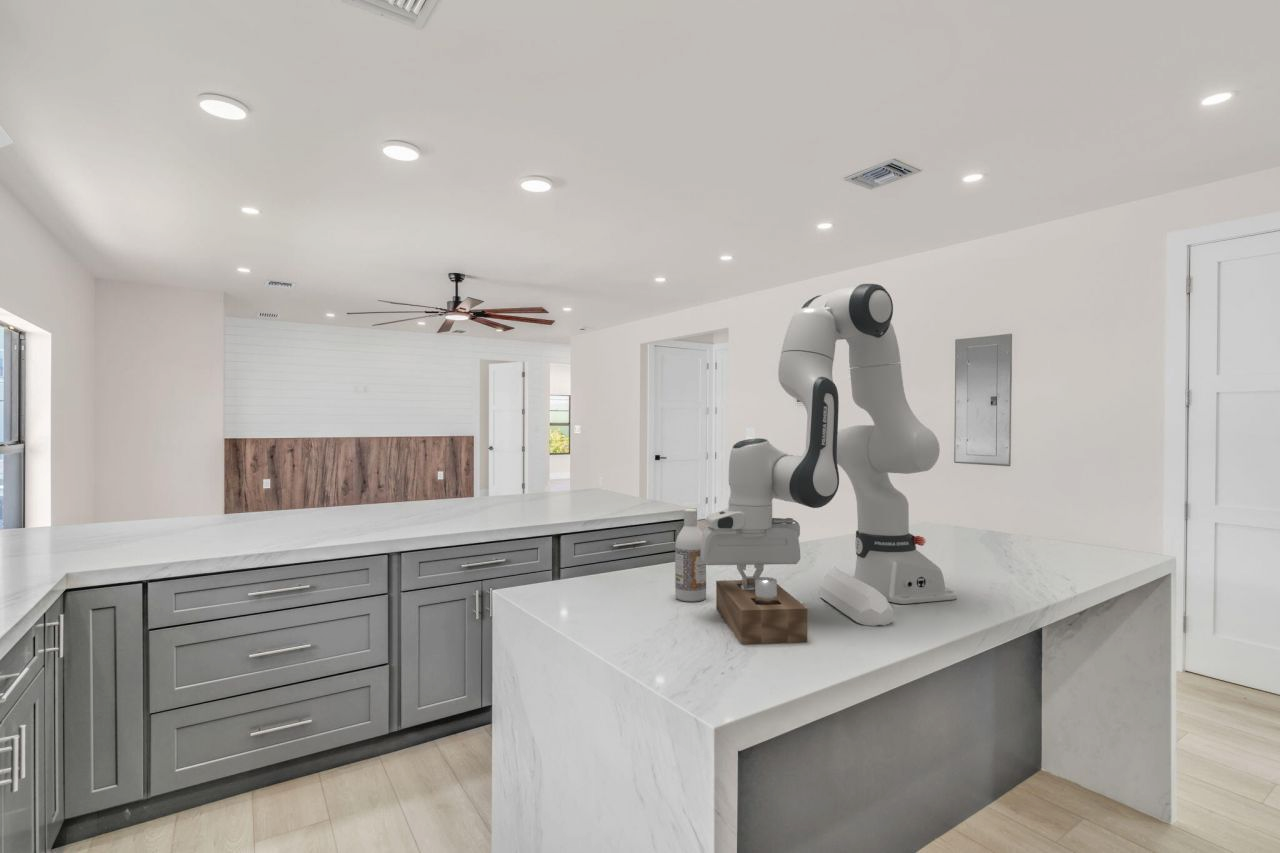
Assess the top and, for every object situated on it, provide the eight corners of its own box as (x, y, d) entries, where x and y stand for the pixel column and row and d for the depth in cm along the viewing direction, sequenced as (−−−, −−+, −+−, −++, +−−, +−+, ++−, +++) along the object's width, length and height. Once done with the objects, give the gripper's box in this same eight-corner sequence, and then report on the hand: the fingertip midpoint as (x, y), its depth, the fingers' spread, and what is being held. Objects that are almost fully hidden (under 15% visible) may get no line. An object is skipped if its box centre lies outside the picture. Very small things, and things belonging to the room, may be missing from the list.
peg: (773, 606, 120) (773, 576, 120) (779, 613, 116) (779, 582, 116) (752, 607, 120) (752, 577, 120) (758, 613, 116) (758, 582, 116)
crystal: (807, 579, 144) (852, 609, 121) (833, 563, 145) (883, 589, 121) (822, 607, 145) (871, 642, 121) (848, 590, 145) (902, 622, 121)
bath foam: (692, 604, 137) (691, 512, 138) (669, 598, 142) (668, 509, 143) (712, 598, 142) (712, 509, 142) (689, 592, 147) (689, 507, 147)
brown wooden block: (771, 607, 135) (771, 579, 135) (807, 642, 113) (807, 608, 113) (716, 609, 134) (716, 580, 134) (741, 644, 112) (741, 610, 112)
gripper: (794, 515, 133) (794, 581, 133) (698, 516, 131) (698, 583, 131) (805, 520, 126) (805, 589, 126) (704, 520, 125) (704, 590, 125)
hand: (750, 586), depth 129 cm, fingers closed
